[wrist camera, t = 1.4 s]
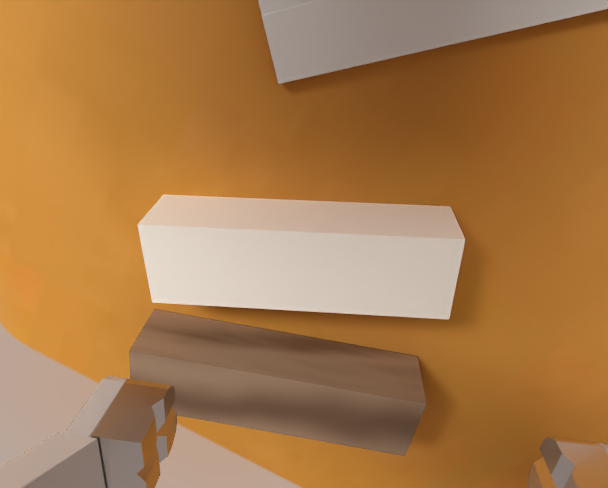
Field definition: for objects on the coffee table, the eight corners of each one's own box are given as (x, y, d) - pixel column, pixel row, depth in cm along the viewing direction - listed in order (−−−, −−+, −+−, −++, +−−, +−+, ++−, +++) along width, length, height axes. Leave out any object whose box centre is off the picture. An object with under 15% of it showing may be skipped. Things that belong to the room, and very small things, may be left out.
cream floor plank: (165, 193, 33) (137, 224, 29) (449, 204, 32) (465, 239, 28) (175, 264, 36) (152, 302, 32) (436, 277, 35) (449, 319, 30)
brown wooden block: (154, 309, 38) (129, 350, 34) (417, 356, 38) (426, 404, 34) (154, 362, 41) (131, 407, 37) (398, 406, 41) (404, 455, 37)
